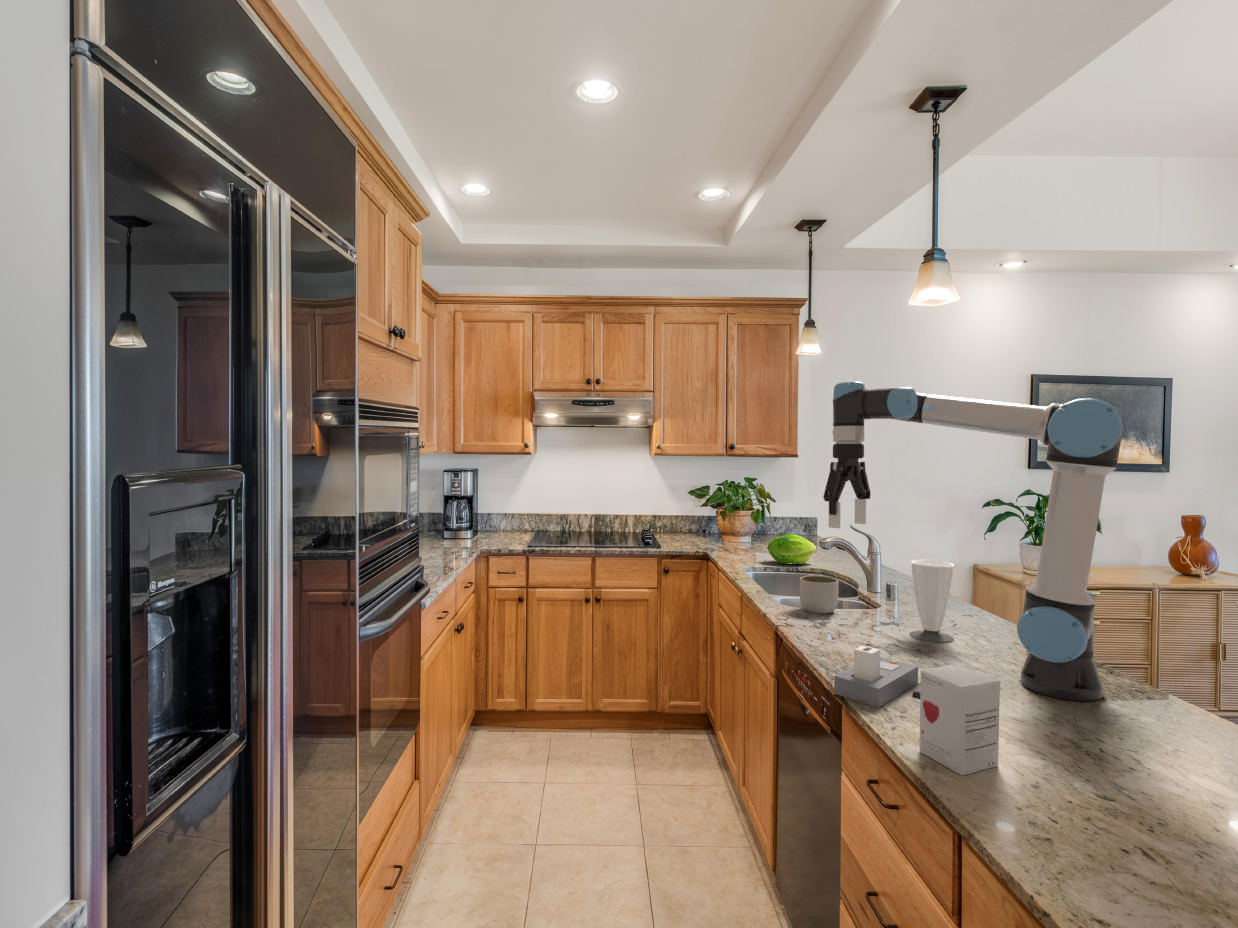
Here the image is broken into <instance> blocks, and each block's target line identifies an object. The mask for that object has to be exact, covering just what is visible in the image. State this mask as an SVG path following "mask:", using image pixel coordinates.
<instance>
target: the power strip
mask: <svg viewBox="0 0 1238 928" xmlns="http://www.w3.org/2000/svg"><path fill="white" fill-rule="evenodd" d="M918 683H919V666H918V665H913V664H911V663H907V662H903V661H898V660H896V659H895V660H894V659H890V658H887V657H882V656H880V680H878V681H876V682H874V683H872V682H869V681H865V680H862V679H858V678H854V666H852V667H850V668H848V669H846V670H843V671H841V672H840V673H837V674H836V675H834V691H833V692H834V695H837V696H840V697H844V698H846V699H850V700H853V701H857V702H859V703H863V704H867V705H869V706H873V707H876V708H881V707H882V706H885V705H886V704H888V703H889V702H891V701H892V700H894V699H895V698H897V697H898V696H900V695H902V694H903V693H905V692H907V691H908V690H910V689H912V688H913V687H916V686H917V685H918Z"/></svg>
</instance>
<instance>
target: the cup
mask: <svg viewBox="0 0 1238 928" xmlns="http://www.w3.org/2000/svg"><path fill="white" fill-rule="evenodd" d="M910 565H911V573H912V583H913V590H914V595H915V602H916V606H917V611H918V615H919V620H920V623H921V626H922V630H913V631H912V630H911V632H909V635H910V637H911V638H914V639H916V640H920V641H923V642H928V643H936V644H945V643H946V644H947V643H951V642H953V641H955V639H954V637H953V636H952V635H949V634H947V633H944V632H941V628H942V626H943V623H944V619H945V617H946V612H947V608H948V603H949V600H950V599H949V598H950V594H951V588H952V581H953V574H954V573H953V572H954V568H955V564H954V563H952V562H949V561H944V560H936V559H914V560H911V561H910Z"/></svg>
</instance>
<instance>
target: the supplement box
mask: <svg viewBox="0 0 1238 928" xmlns="http://www.w3.org/2000/svg"><path fill="white" fill-rule="evenodd" d="M919 683H920V697H919V700H920V702H919V704H920V705H919V707H920V708H919V753H921V754H923V755H925V756H927V757H929V758H931V759H932V760H934V761H935V762H937V763H939V764H940V765H942V766H944V767H946V768H948V769H950V770H951V771H953V772H955V773H956V774H958V775H960V776H965V775H969V774H972V773H977V772H982V771H984V770H988V769H992V768H995V767H998V766H999V741H1000V739H999V738H1000V736H999V735H1000V701H1001V700H1000V694H1001V693H1000V692H1001V681H1000V680H998V679H995V678H993V677H991V676H987V675H985V674H982V673H980V672H978V671H975V670H972V669H969V668H967V667H964V666H962V665H960V664H957V663H954V664H950V665H949V664H948V665H942V666H939V667H929V668H923V669H921V670H920V682H919Z"/></svg>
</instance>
